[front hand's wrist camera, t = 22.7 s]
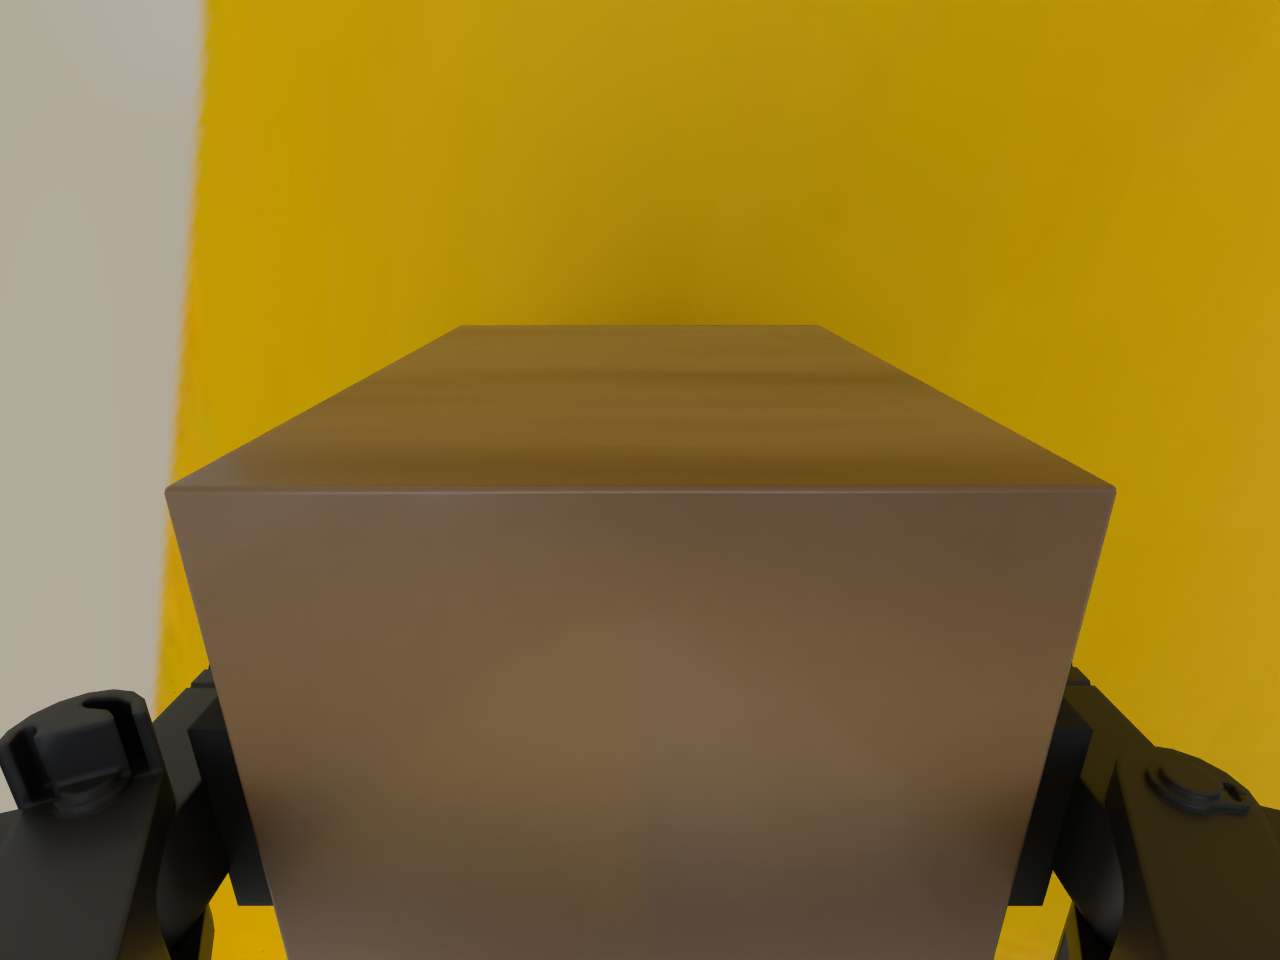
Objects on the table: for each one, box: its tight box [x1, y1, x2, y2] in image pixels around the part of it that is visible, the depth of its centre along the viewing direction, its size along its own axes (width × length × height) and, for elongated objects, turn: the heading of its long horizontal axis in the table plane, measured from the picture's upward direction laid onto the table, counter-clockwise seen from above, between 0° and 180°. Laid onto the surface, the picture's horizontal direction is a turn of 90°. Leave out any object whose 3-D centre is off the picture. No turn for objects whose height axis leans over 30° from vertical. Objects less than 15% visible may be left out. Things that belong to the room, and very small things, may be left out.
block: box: [165, 325, 1116, 960], centre depth 12 cm, size 9×8×11 cm
